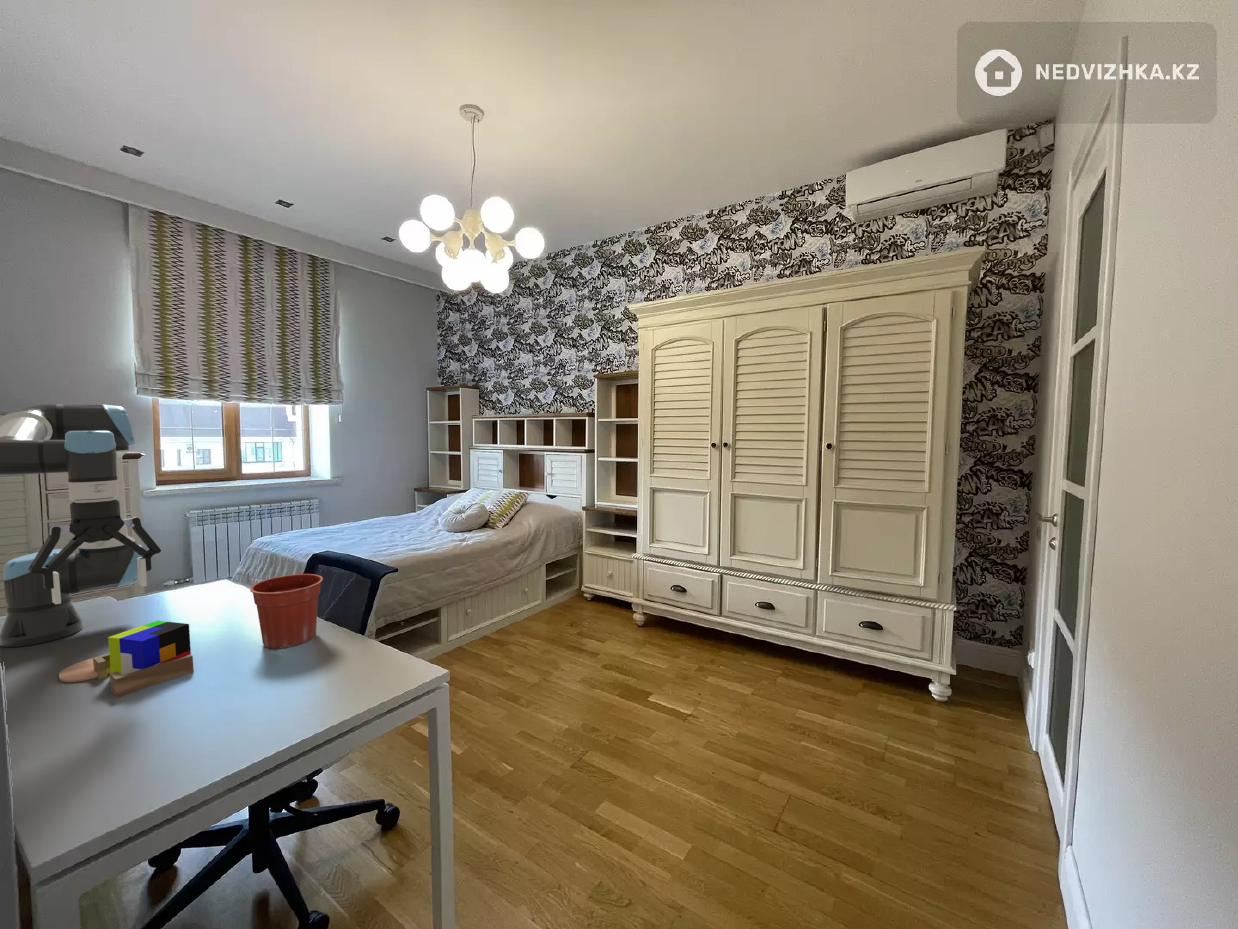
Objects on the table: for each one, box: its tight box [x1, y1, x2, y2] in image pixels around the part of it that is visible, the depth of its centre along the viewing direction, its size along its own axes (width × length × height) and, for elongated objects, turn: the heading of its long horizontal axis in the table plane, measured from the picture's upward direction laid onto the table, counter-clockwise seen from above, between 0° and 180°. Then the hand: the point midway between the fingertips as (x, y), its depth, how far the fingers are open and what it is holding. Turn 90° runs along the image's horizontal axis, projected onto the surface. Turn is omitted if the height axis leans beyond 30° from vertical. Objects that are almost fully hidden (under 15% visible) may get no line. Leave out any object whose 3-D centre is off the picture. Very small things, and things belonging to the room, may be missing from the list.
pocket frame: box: [92, 652, 195, 698], centre depth 115 cm, size 18×13×4 cm
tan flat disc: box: [58, 657, 111, 683], centre depth 117 cm, size 12×12×1 cm
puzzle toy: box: [107, 620, 192, 675], centre depth 116 cm, size 10×10×10 cm
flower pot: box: [249, 573, 324, 650], centre depth 133 cm, size 16×16×16 cm
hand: (102, 593), depth 109 cm, fingers open, 13 cm apart
